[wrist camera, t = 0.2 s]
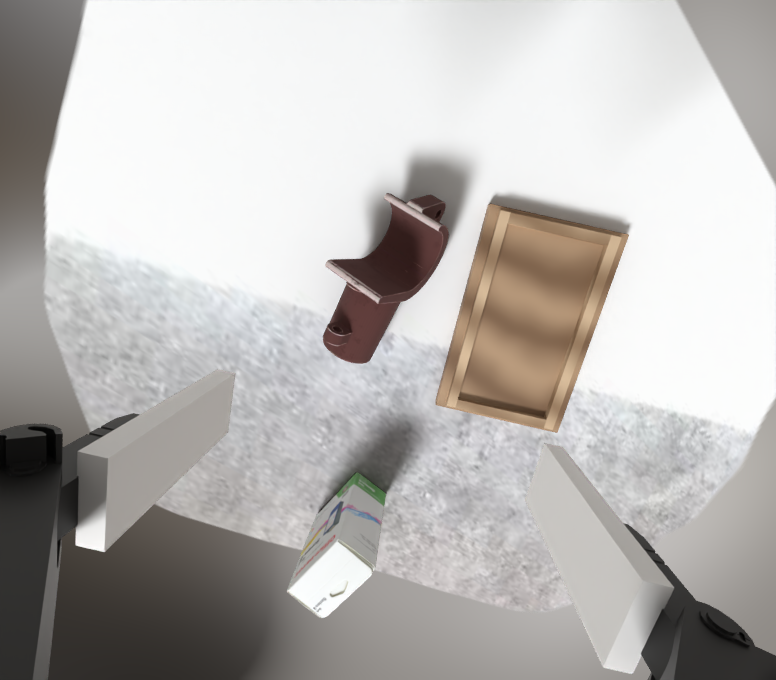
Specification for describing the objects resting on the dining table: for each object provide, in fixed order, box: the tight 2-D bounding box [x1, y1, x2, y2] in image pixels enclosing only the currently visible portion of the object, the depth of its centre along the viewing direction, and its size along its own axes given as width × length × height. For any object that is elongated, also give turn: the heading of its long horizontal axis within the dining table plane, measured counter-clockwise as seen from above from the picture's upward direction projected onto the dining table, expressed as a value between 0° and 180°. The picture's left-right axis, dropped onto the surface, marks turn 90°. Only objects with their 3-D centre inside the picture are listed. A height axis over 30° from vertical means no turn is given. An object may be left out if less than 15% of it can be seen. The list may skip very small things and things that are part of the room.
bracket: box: [323, 193, 449, 364], centre depth 36 cm, size 6×17×10 cm, turn 153°
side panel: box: [436, 204, 629, 433], centre depth 39 cm, size 22×14×2 cm, turn 168°
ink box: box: [287, 473, 386, 618], centre depth 41 cm, size 9×5×12 cm, turn 140°
